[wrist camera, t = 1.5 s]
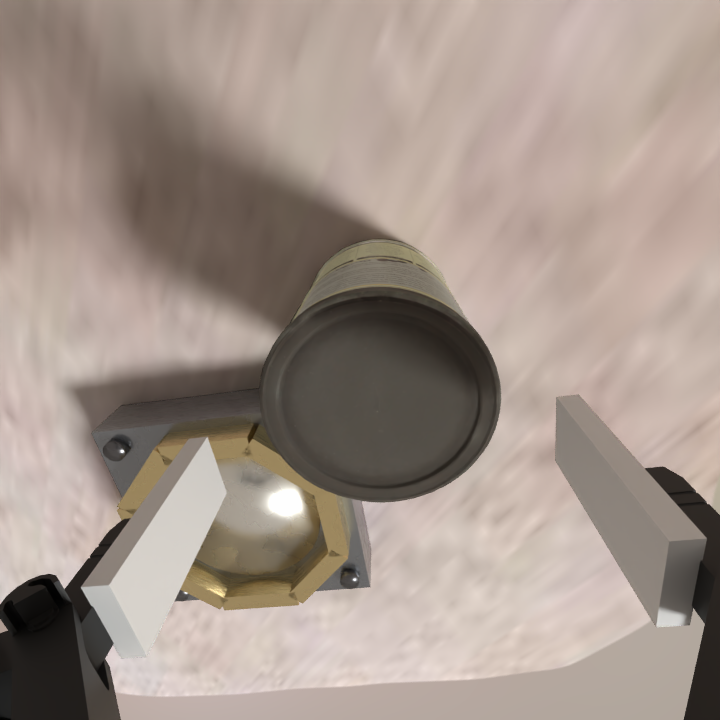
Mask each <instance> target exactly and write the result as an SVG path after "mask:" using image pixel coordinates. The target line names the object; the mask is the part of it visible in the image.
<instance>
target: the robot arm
mask: <svg viewBox="0 0 720 720" xmlns="http://www.w3.org/2000/svg"><path fill="white" fill-rule="evenodd" d="M555 461H556V463H557V464H558V466H559V468H560V469H561V471H562V472H563V474H564V476H565V477H566V479H567V481H568V482H569V484H570V486H571V487H572V489H573V491H574V492H575V494H576V496H577V497H578V499H579V501H580V502H581V504H582V506H583V507H584V509H585V511H586V512H587V514H588V515H589V517H590V519H591V520H592V522H593V524H594V525H595V527H596V529H597V530H598V532H599V534H600V535H601V537H602V539H603V540H604V542H605V544H606V545H607V547H608V549H609V550H610V552H611V554H612V555H613V557H614V558H615V560H616V562H617V563H618V565H619V567H620V568H621V570H622V572H623V573H624V575H625V577H626V578H627V580H628V582H629V583H630V585H631V587H632V588H633V590H634V592H635V593H636V595H637V597H638V598H639V600H640V601H641V603H642V605H643V606H644V608H645V610H646V611H647V613H648V615H649V616H650V618H651V620H652V621H653V623H654V625H655V626H656V627H667V626H683V625H690V622H691V616H692V611H693V608H694V609H695V611H696V612H697V614H698V615H699V616H700V618H701V619H702V620H703V622H704V623H705V626H704V631H703V635H702V640H701V644H700V649H699V653H698V658H697V662H696V667H695V672H694V676H693V680H692V685H691V690H690V694H689V699H688V703H687V708H686V712H685V717H684V720H720V515H719V514H718V513H717V512H716V511H715V510H714V509H713V508H712V507H711V506H710V505H709V504H707V503H706V501H705V500H704V499H703V498H702V497H701V496H700V495H699V494H698V493H696V491H695V490H694V489H693V488H692V487H691V485H690V484H689V483H688V482H687V481H686V480H685V479H684V478H683V477H681V476H679V475H677V474H676V473H674V472H672V471H670V470H669V469H667V468H665V467H654V468H644V467H643V466H642V465H641V464H640V463H639V462H638V461H637V459H636V458H635V457H634V456H633V455H632V454H631V453H630V452H629V450H628V449H627V448H626V447H625V446H624V445H623V444H622V443H621V441H620V440H619V439H618V438H617V437H616V436H615V435H614V434H613V432H612V431H611V430H610V429H609V428H608V427H607V426H606V425H605V423H604V422H603V421H602V420H601V419H600V418H599V417H598V416H597V415H596V413H595V412H594V411H593V410H592V409H591V408H590V407H589V406H588V404H587V403H586V402H585V401H584V400H583V399H582V398H581V397H580V395H571V396H562V397H556V450H555ZM226 494H227V492H226V489H225V486H224V483H223V480H222V477H221V475H220V472H219V469H218V466H217V463H216V460H215V457H214V454H213V451H212V448H211V446H210V443H209V440H208V437H200V438H191V439H188V441H187V442H186V443H185V445H184V446H183V447H182V449H181V450H180V452H179V453H178V454H177V456H176V457H175V458H174V460H173V461H172V463H171V464H170V465H169V467H168V468H167V469H166V471H165V472H164V474H163V475H162V476H161V478H160V479H159V480H158V482H157V483H156V485H155V486H154V487H153V489H152V490H151V491H150V493H149V494H148V496H147V497H146V498H145V500H144V501H143V502H142V504H141V505H140V507H139V508H138V509H137V511H136V512H135V513H134V515H133V516H132V518H127V519H123V520H122V521H121V522H119V523H118V524H117V525H116V526H115V527H113V528H112V529H111V530H110V531H109V532H108V533H107V534H106V536H105V537H104V538H103V540H102V541H101V542H100V544H99V547H97V548H96V549H95V550H94V552H93V553H92V554H91V555H90V558H88V559H87V561H86V562H85V563H84V565H83V566H82V567H81V569H80V570H79V571H78V572H77V574H76V575H75V576H74V578H73V579H72V580H71V582H70V583H69V584H68V586H67V587H66V588H65V590H64V588H63V586H62V585H61V583H60V581H59V580H58V578H57V576H56V575H52V574H46V575H40V576H37V577H35V578H33V579H30V580H28V581H26V582H25V583H23V584H22V585H20V586H18V587H17V588H16V589H14V590H13V591H12V592H11V593H10V594H9V595H8V596H6V598H5V599H4V600H3V602H2V603H1V604H0V619H1V620H2V622H3V623H4V625H5V626H6V628H7V629H8V631H5V632H3V633H0V720H121V719H120V714H119V709H118V705H117V700H116V695H115V690H114V685H113V681H112V676H111V671H110V666H109V665H108V663H107V661H106V660H105V658H106V656H107V654H108V652H109V651H110V649H111V647H112V645H114V647H115V649H116V651H117V652H118V654H119V656H120V658H121V659H124V658H141V657H148V654H149V652H150V650H151V648H152V646H153V644H154V642H155V640H156V638H157V636H158V634H159V632H160V630H161V628H162V626H163V624H164V621H165V619H166V617H167V615H168V613H169V611H170V609H171V607H172V605H173V603H174V601H175V599H176V597H177V595H178V593H179V591H180V589H181V586H182V584H183V582H184V580H185V578H186V576H187V574H188V572H189V570H190V568H191V566H192V564H193V562H194V560H195V558H196V556H197V553H198V551H199V549H200V547H201V545H202V543H203V541H204V539H205V537H206V535H207V533H208V531H209V529H210V527H211V525H212V523H213V520H214V518H215V516H216V514H217V512H218V510H219V508H220V506H221V504H222V502H223V500H224V498H225V496H226Z"/></svg>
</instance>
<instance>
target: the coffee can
mask: <svg viewBox="0 0 720 720" xmlns="http://www.w3.org/2000/svg"><path fill="white" fill-rule="evenodd" d="M259 404H260V412H261V416H262V421H263V424H264V427H265V430H266V432H267V435H268V437H269V439H270V441H271V442H272V444H273V446H274V447H275V449H276V450H277V452H278V453H279V454H280V456H281V457H282V458H283V459H284V461H285V462H286V463H287V464H288V465H289V466H290V467H291V468H292V469H293V470H294V471H295V472H296V473H298V474H299V475H300V476H301V477H303V478H304V479H305V480H307V481H309V482H310V483H312V484H313V485H315V486H317V487H319V488H321V489H323V490H325V491H327V492H331V493H333V494H336V495H338V496H342V497H345V498H350V499H355V500H360V501H368V502H395V501H402V500H408V499H412V498H416V497H419V496H422V495H425V494H428V493H431V492H434V491H435V490H437V489H439V488H442V487H444V486H446V485H447V484H449V483H451V482H452V481H454V480H455V479H456V478H458V477H459V476H460V475H462V474H463V473H464V472H466V471H467V470H468V469H469V468H470V467H471V466H472V465H473V464H474V463H475V462H476V460H477V459H478V458H479V456H480V455H481V454H482V453H483V451H484V450H485V448H486V447H487V446H488V444H489V442H490V440H491V438H492V435H493V433H494V431H495V428H496V425H497V421H498V417H499V412H500V406H501V387H500V380H499V375H498V372H497V368H496V365H495V362H494V360H493V357H492V355H491V353H490V351H489V349H488V348H487V346H486V344H485V343H484V341H483V340H482V338H481V337H480V335H479V334H478V333H477V331H476V330H475V329H474V328H473V327H472V326H471V325H470V324H469V322H468V320H467V318H466V317H465V315H464V314H463V312H462V310H461V309H460V307H459V305H458V303H457V302H456V300H455V298H454V297H453V295H452V293H451V292H450V290H449V288H448V287H447V285H446V282H445V280H444V278H443V276H442V274H441V272H440V271H439V269H438V268H437V267H436V266H435V264H434V263H433V262H432V261H431V260H430V259H429V258H428V257H427V256H425V255H424V254H423V253H421V252H420V251H418V250H417V249H415V248H413V247H411V246H409V245H407V244H405V243H402V242H398V241H392V240H385V239H376V240H367V241H362V242H359V243H356V244H353V245H351V246H348V247H346V248H343V249H342V250H341V251H339V252H338V253H337V254H335V255H334V256H332V257H331V258H330V259H329V260H328V261H327V262H326V263H325V264H324V265H323V267H322V268H321V270H320V271H319V272H318V274H317V276H316V278H315V280H314V282H313V284H312V286H311V288H310V290H309V292H308V293H307V295H306V297H305V299H304V300H303V302H302V304H301V305H300V307H299V308H298V310H297V312H296V314H295V315H294V317H293V319H292V320H291V322H290V324H289V325H288V326H287V327H286V328H285V329H284V331H283V332H282V333H281V334H280V336H279V337H278V339H277V340H276V342H275V343H274V345H273V346H272V349H271V351H270V353H269V355H268V357H267V359H266V361H265V364H264V367H263V371H262V375H261V380H260V392H259Z"/></svg>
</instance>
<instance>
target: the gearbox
mask: <svg viewBox="0 0 720 720" xmlns="http://www.w3.org/2000/svg"><path fill="white" fill-rule="evenodd" d="M259 392H260V388H259V389H251V390H243V391H235V392H227V393H219V394H211V395H203V396H195V397H187V398H179V399H171V400H163V401H155V402H147V403H139V404H131V405H122V406H120V407H119V408H118V409H117V410H116V411H115V412H114V413H113V414H111V415H110V416H109V417H108V418H107V419H106V420H105V421H104V422H103V423H102V424H101V425H99V426H98V427H97V428H96V429H95V430H94V431H93V432H92V435H93V437H94V440H95V442H96V444H97V446H98V448H99V450H100V452H101V454H102V456H103V458H104V461H105V463H106V465H107V467H108V469H109V471H110V473H111V475H112V477H113V479H114V482H115V484H116V486H117V488H118V490H119V492H120V494H121V496H122V500H121V501H120V503H119V504H118V506H117V507H119V509H118V510H117V512H118V514H119V516H120V518H121V520H123V519H127V518H132V516H133V515H134V513H135V512H136V511H137V509H138V508H139V507H140V505H141V504H142V502H143V501H144V500H145V498H146V497H147V496H148V494H149V493H150V491H151V490H152V489H153V487H154V486H155V485H156V483H157V482H158V480H159V479H160V478H161V476H162V475H163V474H164V472H165V471H166V469H167V468H168V467H169V465H170V464H171V463H172V461H173V460H174V458H175V457H176V456H177V454H178V453H179V452H180V450H181V449H182V447H183V446H184V445H185V443H186V442H187V441H188V439H191V438H200V437H208V440H209V443H210V446H211V448H212V451H213V454H214V457H215V460H216V463H217V466H218V469H219V472H220V475H221V477H222V480H223V483H224V486H225V489H226V492H227V494H226V496H225V498H224V500H223V502H222V504H221V506H220V508H219V510H218V512H217V514H216V516H215V518H214V520H213V523H212V525H211V527H210V529H209V531H208V533H207V535H206V537H205V539H204V541H203V543H202V545H201V547H200V549H199V551H198V553H197V556H196V558H195V560H194V562H193V564H192V566H191V568H190V570H189V572H188V574H187V576H186V578H185V580H184V582H183V584H182V586H181V589H180V591H179V593H178V595H177V597H176V599H175V601H187V600H202V601H204V602H206V603H208V604H210V605H212V606H214V607H216V608H218V609H221V607H222V606H223V608H224V610H236V609H250V608H264V607H278V606H292V605H299V602H301V603H304V602H305V601H306V600H307V599H308V598H309V597H310V596H311V595H312V594H313V593H314V592H315V591H323V590H337V589H353V588H364V587H370V579H371V546H370V541H369V536H368V531H367V526H366V521H365V516H364V511H363V506H362V501H360V500H355V499H350V498H345V497H342V496H338V495H336V494H333V493H331V492H327V491H325V490H323V489H321V488H319V487H317V486H315V485H313V484H312V483H310V482H309V481H307V480H305V479H304V478H303V477H301V476H300V475H299V474H298V473H296V472H295V471H294V470H293V469H292V468H291V467H290V466H289V465H288V464H287V463H286V462H285V461H284V459H283V458H282V457H281V456H280V454H279V453H278V452H277V450H276V449H275V447H274V446H273V444H272V442H271V441H270V439H269V437H268V435H267V432H266V430H265V427H264V424H263V421H262V416H261V412H260V404H259Z"/></svg>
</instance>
